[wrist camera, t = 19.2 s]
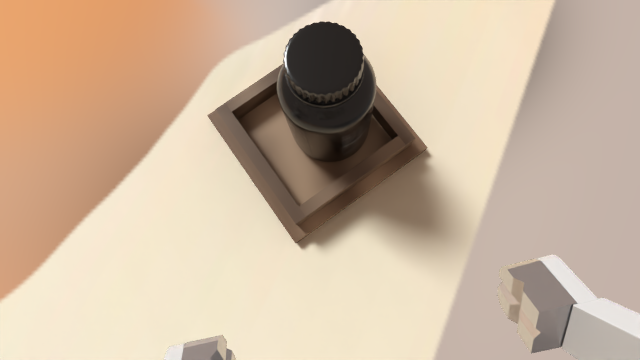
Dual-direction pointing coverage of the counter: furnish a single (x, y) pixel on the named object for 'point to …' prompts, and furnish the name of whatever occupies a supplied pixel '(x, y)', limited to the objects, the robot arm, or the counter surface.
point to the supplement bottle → (327, 91)
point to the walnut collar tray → (300, 169)
